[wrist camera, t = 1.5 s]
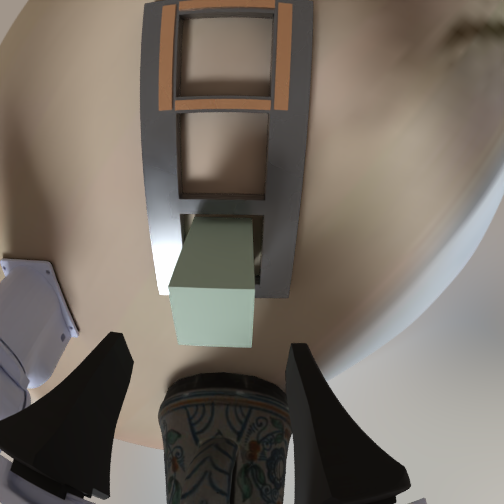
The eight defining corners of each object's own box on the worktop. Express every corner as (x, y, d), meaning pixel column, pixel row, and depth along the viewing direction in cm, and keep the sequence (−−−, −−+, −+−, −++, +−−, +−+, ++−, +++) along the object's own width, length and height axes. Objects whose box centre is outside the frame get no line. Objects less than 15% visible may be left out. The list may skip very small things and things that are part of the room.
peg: (250, 266, 22) (251, 347, 15) (197, 265, 22) (178, 344, 15) (252, 217, 20) (254, 289, 13) (194, 217, 20) (167, 286, 13)
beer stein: (212, 436, 38) (207, 575, 16) (119, 374, 29) (76, 561, 8) (311, 412, 34) (332, 576, 12) (234, 334, 25) (230, 619, 4)
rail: (286, 288, 23) (288, 299, 22) (163, 285, 23) (159, 295, 21) (309, 6, 12) (314, 0, 11) (150, 8, 12) (143, 2, 11)
